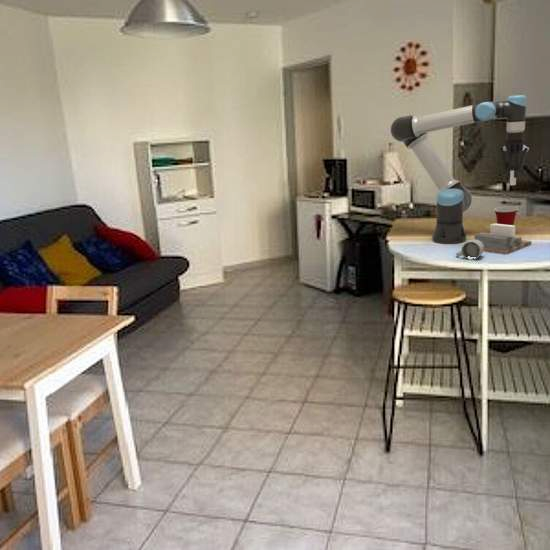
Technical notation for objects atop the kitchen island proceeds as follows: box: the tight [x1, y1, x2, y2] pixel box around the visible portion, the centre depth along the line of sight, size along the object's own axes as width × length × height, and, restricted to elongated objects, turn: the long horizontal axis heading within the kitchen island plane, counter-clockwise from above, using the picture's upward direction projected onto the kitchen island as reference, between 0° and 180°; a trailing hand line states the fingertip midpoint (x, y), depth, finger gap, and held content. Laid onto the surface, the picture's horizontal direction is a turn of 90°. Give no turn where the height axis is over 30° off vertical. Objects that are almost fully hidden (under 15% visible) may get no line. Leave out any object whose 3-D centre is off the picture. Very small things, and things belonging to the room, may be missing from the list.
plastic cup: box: [493, 205, 519, 226], centre depth 274 cm, size 11×11×12 cm
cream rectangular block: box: [489, 222, 517, 239], centre depth 248 cm, size 3×10×8 cm, turn 41°
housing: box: [473, 232, 532, 255], centre depth 248 cm, size 22×16×6 cm
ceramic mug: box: [455, 238, 485, 260], centre depth 235 cm, size 11×8×8 cm
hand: (512, 184), depth 259 cm, fingers closed
